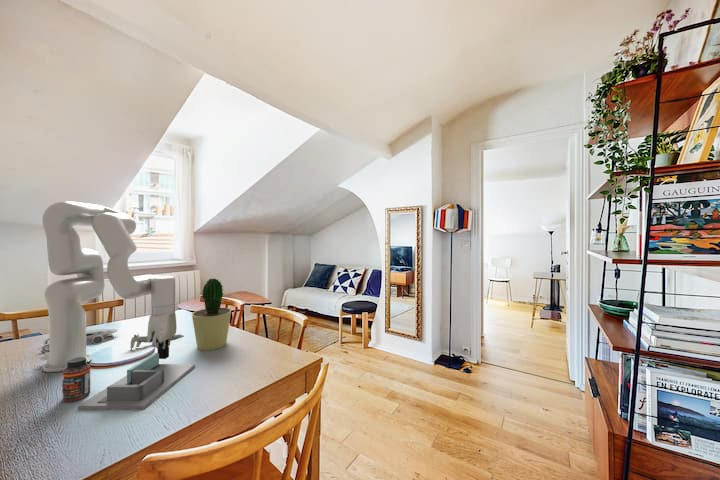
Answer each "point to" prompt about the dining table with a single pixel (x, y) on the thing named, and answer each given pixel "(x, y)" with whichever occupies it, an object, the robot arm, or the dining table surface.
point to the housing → (138, 388)
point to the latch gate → (144, 365)
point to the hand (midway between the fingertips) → (163, 357)
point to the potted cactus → (211, 318)
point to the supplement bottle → (76, 380)
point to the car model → (90, 337)
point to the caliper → (145, 339)
